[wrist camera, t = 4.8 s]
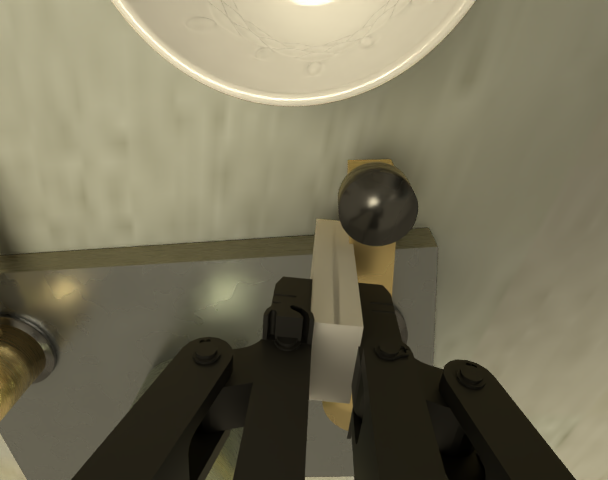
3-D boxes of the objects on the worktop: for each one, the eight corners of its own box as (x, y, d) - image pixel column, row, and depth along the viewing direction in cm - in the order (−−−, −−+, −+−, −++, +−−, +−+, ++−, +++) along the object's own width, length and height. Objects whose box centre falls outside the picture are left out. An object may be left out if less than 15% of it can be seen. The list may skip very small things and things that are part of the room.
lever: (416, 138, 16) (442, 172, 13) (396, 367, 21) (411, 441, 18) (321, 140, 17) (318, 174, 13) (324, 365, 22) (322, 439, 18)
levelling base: (428, 227, 20) (513, 400, 11) (422, 445, 27) (471, 672, 18) (-56, 258, 23) (-332, 424, 13) (46, 452, 29) (-91, 657, 20)
